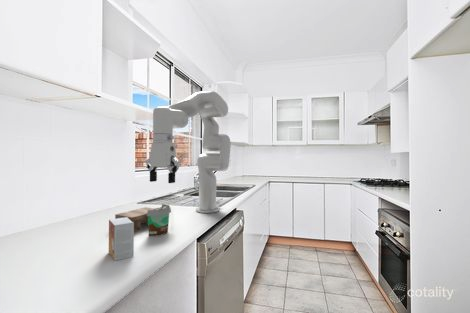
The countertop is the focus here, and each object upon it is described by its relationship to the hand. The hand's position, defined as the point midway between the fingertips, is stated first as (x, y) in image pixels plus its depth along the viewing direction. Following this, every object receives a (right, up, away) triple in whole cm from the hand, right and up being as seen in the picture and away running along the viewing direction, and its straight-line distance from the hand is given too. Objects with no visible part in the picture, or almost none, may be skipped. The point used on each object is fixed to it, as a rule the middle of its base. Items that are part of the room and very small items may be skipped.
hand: (162, 182), depth 97 cm
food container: (0, -20, 0) cm, 20 cm away
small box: (-7, -21, -21) cm, 30 cm away
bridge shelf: (-13, -20, +9) cm, 25 cm away
